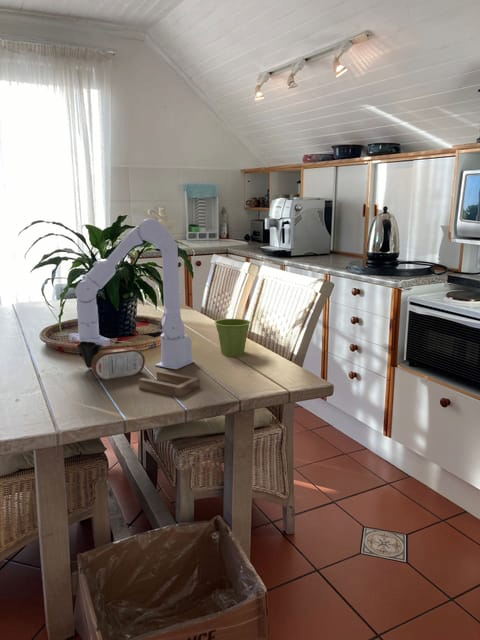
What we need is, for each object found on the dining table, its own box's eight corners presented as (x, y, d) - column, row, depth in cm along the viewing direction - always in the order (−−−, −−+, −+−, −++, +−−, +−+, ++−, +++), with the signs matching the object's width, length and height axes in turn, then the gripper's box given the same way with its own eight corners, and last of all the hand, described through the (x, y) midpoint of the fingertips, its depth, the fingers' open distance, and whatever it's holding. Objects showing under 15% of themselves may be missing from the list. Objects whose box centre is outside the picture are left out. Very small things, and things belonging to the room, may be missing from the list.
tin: (143, 372, 154) (141, 344, 153) (146, 375, 152) (145, 346, 150) (91, 380, 147) (89, 351, 145) (94, 383, 144) (92, 353, 143)
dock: (160, 379, 148) (159, 370, 147) (199, 387, 141) (199, 378, 141) (138, 388, 140) (138, 379, 140) (179, 397, 134) (179, 388, 133)
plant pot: (257, 354, 174) (257, 320, 171) (237, 362, 164) (237, 327, 162) (228, 348, 180) (228, 316, 178) (207, 356, 170) (206, 322, 168)
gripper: (59, 321, 152) (62, 366, 155) (96, 327, 145) (99, 374, 148) (78, 317, 158) (81, 360, 161) (114, 322, 151) (116, 367, 154)
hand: (90, 366), depth 155 cm, fingers closed
